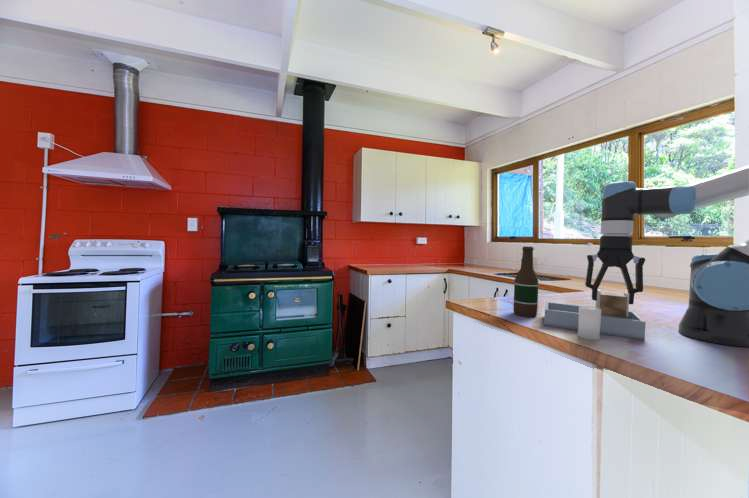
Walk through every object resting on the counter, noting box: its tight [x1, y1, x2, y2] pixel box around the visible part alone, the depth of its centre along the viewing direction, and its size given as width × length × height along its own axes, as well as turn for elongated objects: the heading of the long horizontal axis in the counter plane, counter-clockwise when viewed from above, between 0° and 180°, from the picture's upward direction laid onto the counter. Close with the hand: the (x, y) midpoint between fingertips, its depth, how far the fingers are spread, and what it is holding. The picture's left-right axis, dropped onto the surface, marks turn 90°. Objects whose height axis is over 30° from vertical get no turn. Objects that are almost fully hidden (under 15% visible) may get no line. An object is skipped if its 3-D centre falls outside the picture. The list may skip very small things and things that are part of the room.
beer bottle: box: [513, 246, 539, 318], centre depth 107 cm, size 8×8×24 cm
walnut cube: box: [599, 291, 627, 318], centre depth 91 cm, size 6×6×6 cm
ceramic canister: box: [577, 305, 601, 341], centre depth 83 cm, size 5×5×8 cm
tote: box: [543, 301, 646, 341], centre depth 93 cm, size 24×14×5 cm, turn 59°
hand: (611, 312), depth 91 cm, fingers closed on walnut cube, 6 cm apart
